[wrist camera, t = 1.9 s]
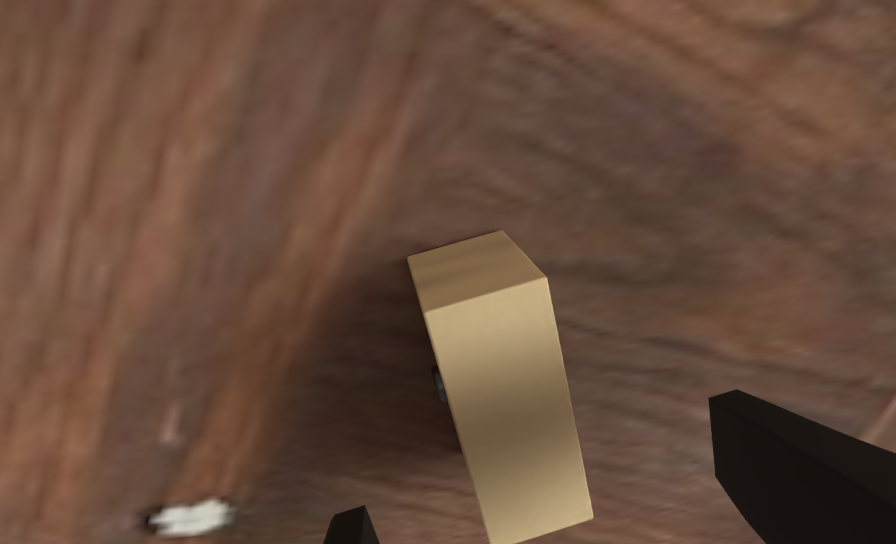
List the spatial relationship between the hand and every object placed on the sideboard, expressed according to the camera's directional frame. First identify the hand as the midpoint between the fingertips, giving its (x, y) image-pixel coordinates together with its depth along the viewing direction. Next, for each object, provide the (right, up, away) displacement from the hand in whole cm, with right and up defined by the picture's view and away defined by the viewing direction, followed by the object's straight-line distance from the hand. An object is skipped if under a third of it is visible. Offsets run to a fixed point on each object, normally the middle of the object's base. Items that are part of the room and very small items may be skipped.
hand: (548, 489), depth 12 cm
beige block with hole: (-1, +2, +6) cm, 6 cm away
